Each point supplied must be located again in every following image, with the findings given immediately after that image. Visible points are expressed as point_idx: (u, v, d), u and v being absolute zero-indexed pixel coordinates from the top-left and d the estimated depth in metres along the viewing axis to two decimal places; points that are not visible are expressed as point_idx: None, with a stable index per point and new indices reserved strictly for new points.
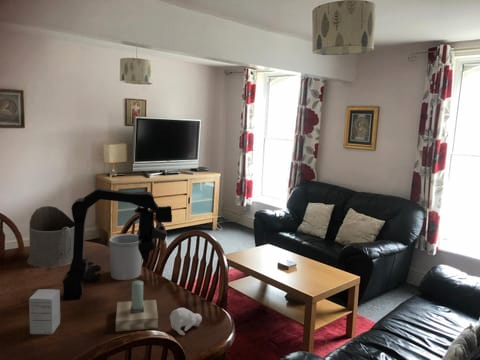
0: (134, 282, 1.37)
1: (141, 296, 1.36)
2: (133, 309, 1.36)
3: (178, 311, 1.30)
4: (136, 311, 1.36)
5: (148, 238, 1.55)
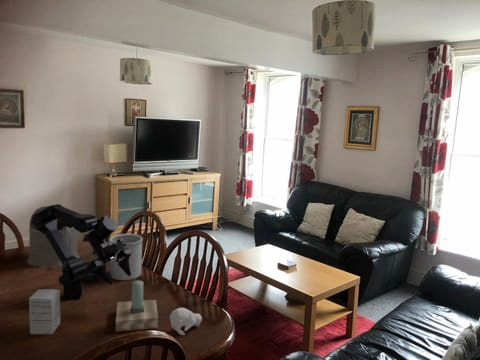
0: (134, 282, 1.37)
1: (141, 296, 1.36)
2: (133, 309, 1.36)
3: (178, 311, 1.30)
4: (136, 311, 1.36)
5: (103, 258, 1.40)
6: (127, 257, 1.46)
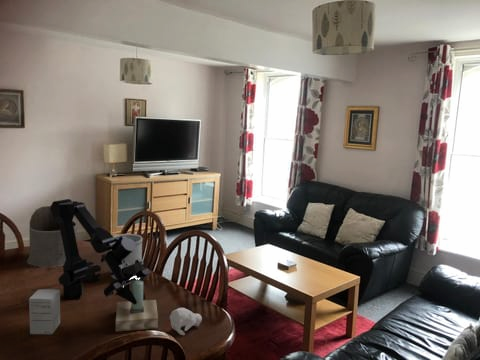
0: (134, 282, 1.37)
1: (141, 296, 1.36)
2: (133, 309, 1.36)
3: (178, 311, 1.30)
4: (136, 311, 1.36)
5: (122, 280, 1.36)
6: (141, 280, 1.40)
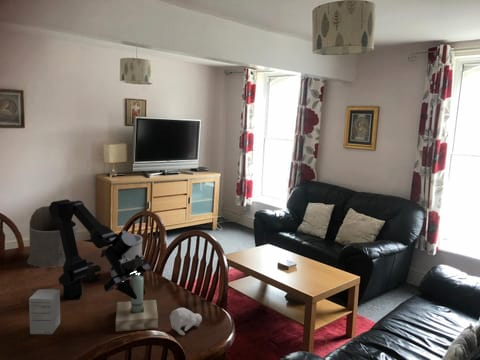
0: (134, 277, 1.36)
1: (141, 291, 1.36)
2: (133, 304, 1.36)
3: (178, 311, 1.30)
4: (136, 306, 1.36)
5: (122, 275, 1.36)
6: (141, 275, 1.40)
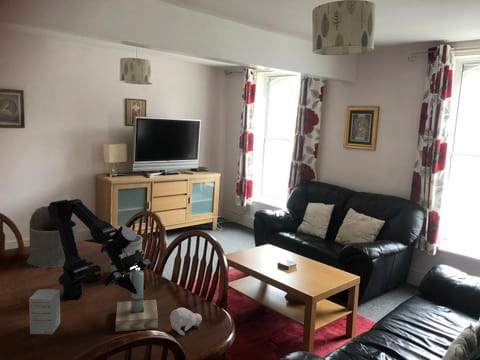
0: (134, 272, 1.36)
1: (141, 286, 1.36)
2: (133, 299, 1.35)
3: (178, 311, 1.30)
4: (136, 301, 1.35)
5: (122, 269, 1.36)
6: (141, 270, 1.40)
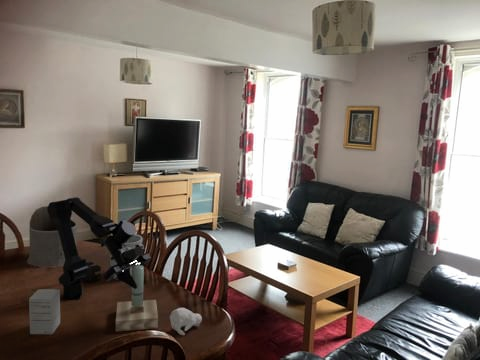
0: (134, 266, 1.36)
1: (141, 281, 1.35)
2: (133, 294, 1.35)
3: (178, 311, 1.30)
4: (136, 296, 1.35)
5: (122, 264, 1.35)
6: (141, 264, 1.39)
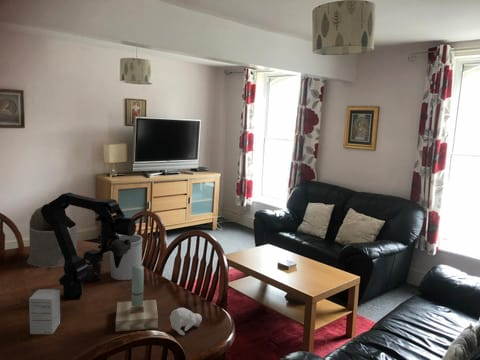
0: (134, 266, 1.36)
1: (141, 280, 1.35)
2: (133, 293, 1.35)
3: (178, 311, 1.30)
4: (136, 295, 1.35)
5: (104, 249, 1.44)
6: None
